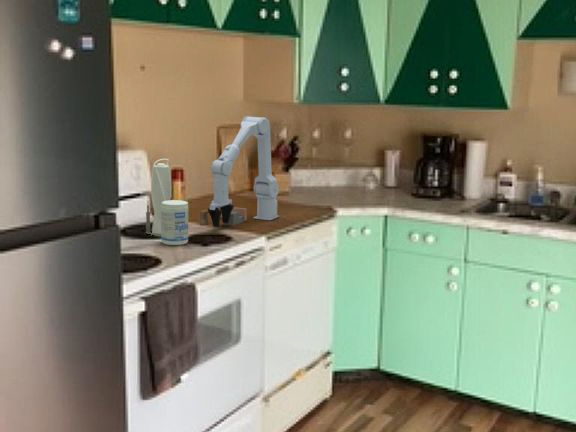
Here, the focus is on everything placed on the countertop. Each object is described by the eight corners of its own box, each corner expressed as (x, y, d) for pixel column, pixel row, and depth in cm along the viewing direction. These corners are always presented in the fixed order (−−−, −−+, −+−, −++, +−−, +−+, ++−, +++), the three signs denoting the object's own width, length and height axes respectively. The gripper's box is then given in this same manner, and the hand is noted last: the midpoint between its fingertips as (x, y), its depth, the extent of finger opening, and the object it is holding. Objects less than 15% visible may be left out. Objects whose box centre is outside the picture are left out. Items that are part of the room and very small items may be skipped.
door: (220, 218, 278) (221, 206, 277) (222, 217, 279) (222, 205, 278) (245, 221, 274) (245, 209, 273) (246, 220, 275) (246, 208, 274)
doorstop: (233, 221, 275) (234, 209, 274) (243, 222, 274) (243, 210, 273) (223, 225, 267) (223, 212, 266) (233, 226, 265) (233, 214, 264)
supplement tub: (179, 247, 230) (179, 205, 227) (155, 244, 233) (155, 203, 230) (193, 241, 239) (193, 201, 236) (170, 238, 242) (170, 198, 239)
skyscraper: (159, 230, 254) (158, 157, 248) (176, 232, 251) (176, 159, 245) (144, 234, 247) (143, 159, 241) (162, 237, 243) (161, 161, 237)
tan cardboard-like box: (224, 216, 283) (224, 203, 282) (227, 216, 283) (227, 203, 282) (199, 225, 265) (200, 211, 264) (203, 225, 264) (203, 212, 263)
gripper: (221, 187, 265) (220, 220, 268) (202, 192, 252) (202, 227, 255) (236, 188, 263) (236, 222, 266) (219, 194, 250) (218, 229, 252)
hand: (220, 224), depth 260 cm, fingers open, 7 cm apart
